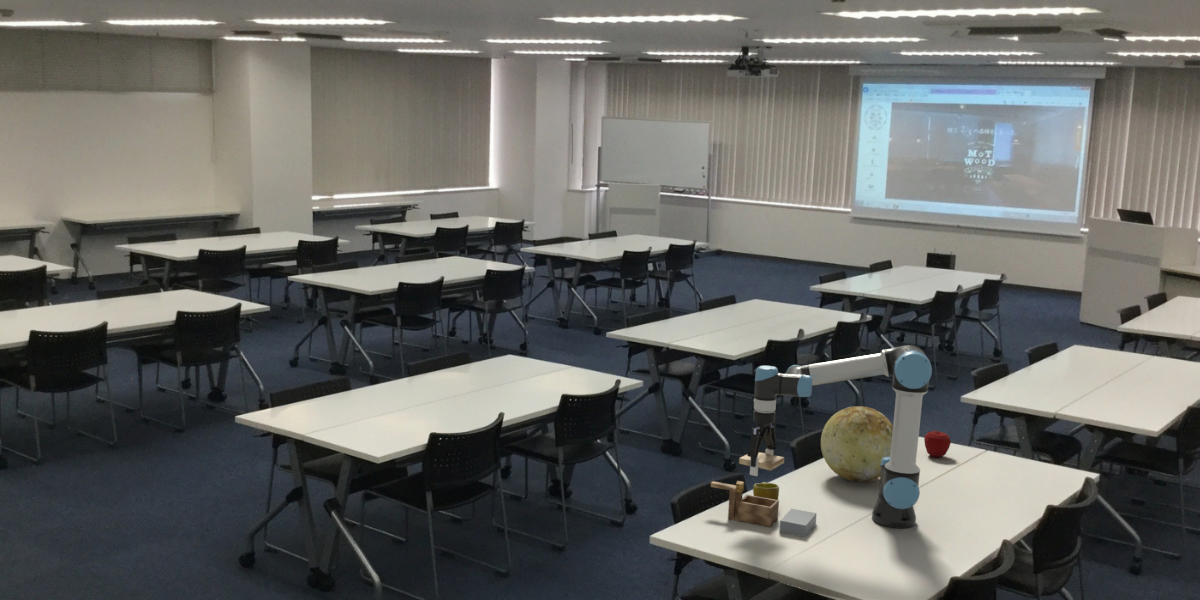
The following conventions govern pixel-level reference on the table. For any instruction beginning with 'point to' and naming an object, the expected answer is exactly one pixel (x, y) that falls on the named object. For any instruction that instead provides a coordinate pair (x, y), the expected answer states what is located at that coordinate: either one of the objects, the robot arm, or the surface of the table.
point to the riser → (798, 522)
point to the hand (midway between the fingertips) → (761, 471)
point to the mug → (766, 490)
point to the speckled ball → (857, 443)
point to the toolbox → (752, 508)
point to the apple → (937, 443)
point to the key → (728, 486)
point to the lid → (764, 461)
